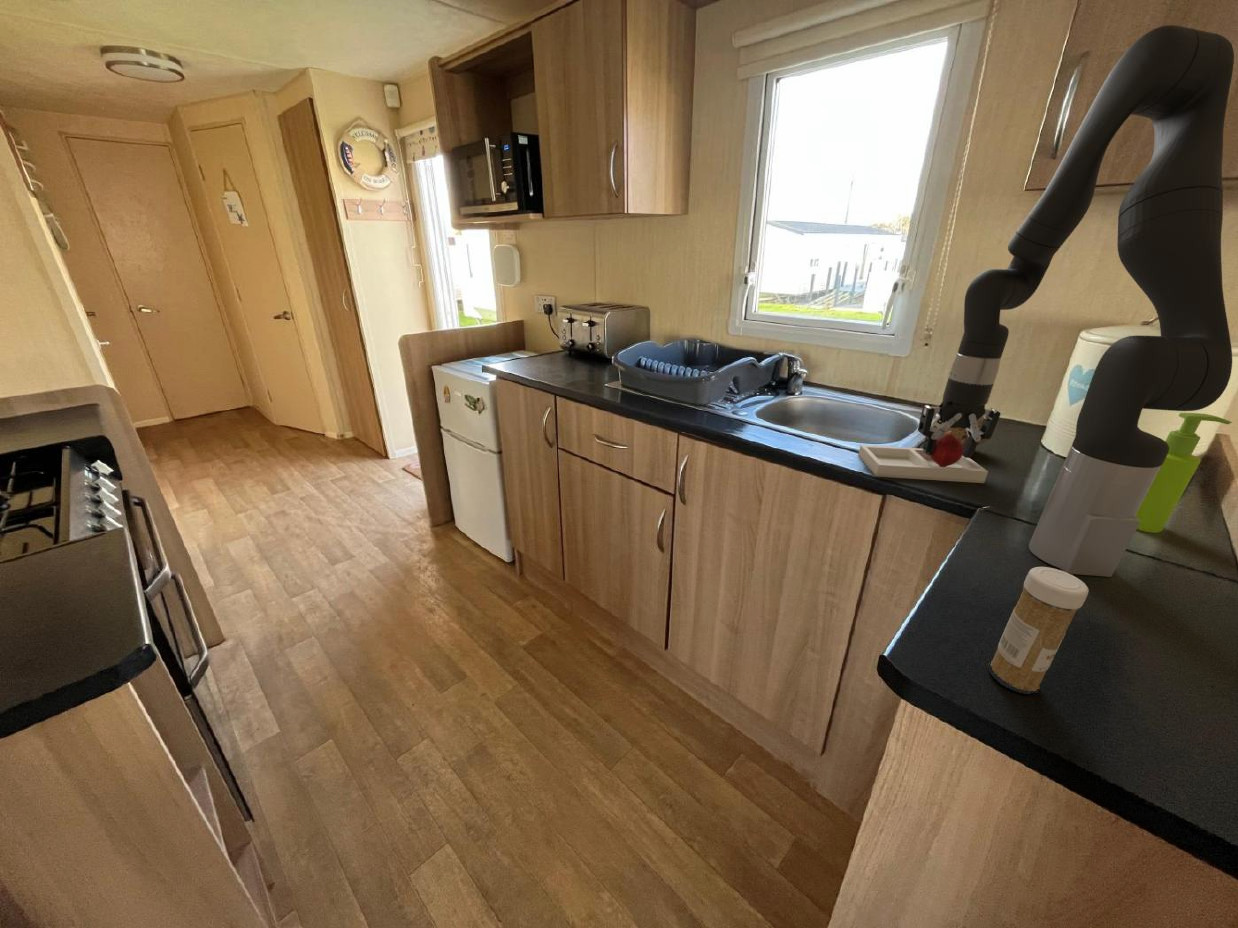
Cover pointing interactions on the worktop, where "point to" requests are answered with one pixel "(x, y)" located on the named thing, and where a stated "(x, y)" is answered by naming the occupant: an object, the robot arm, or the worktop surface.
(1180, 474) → the soap dispenser
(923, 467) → the well holder
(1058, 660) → the worktop surface
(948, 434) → the onion
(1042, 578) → the sprinkles bottle
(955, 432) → the natural sponge
